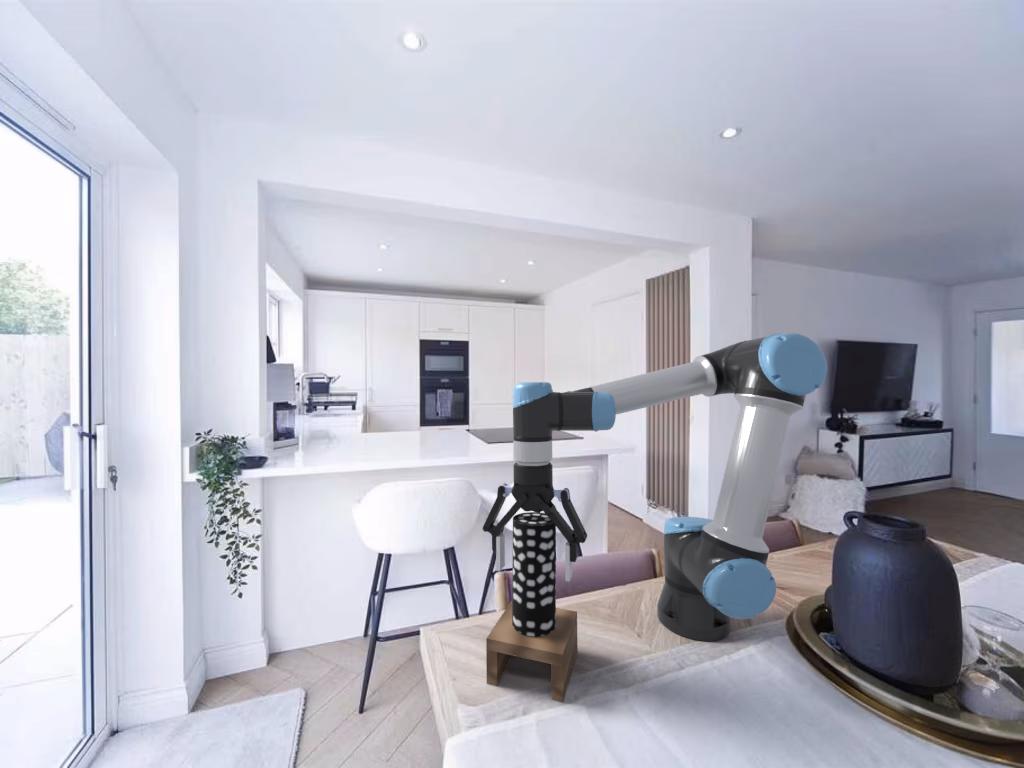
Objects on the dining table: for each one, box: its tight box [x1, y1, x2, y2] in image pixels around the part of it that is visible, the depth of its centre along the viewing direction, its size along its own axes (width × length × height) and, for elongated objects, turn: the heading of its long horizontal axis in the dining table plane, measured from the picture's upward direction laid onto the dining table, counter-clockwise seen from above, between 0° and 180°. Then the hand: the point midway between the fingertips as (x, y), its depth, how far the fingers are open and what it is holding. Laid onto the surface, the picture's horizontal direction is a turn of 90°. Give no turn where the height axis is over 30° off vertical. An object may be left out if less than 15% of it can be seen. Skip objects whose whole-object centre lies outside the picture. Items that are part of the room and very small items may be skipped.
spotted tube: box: [511, 511, 557, 636], centre depth 77 cm, size 8×8×20 cm
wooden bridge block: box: [485, 600, 578, 703], centre depth 77 cm, size 14×14×8 cm
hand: (533, 573), depth 77 cm, fingers open, 13 cm apart
